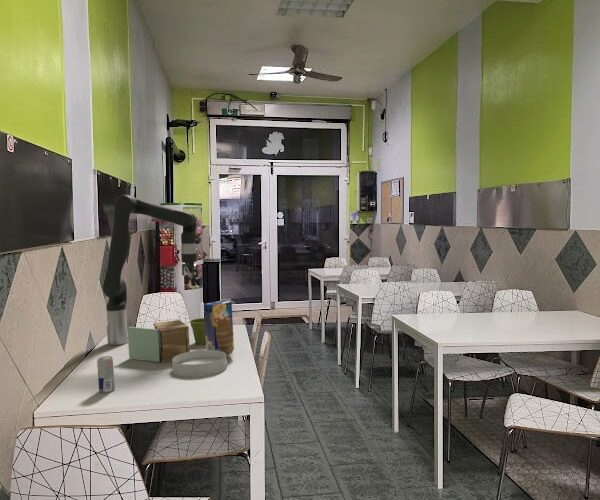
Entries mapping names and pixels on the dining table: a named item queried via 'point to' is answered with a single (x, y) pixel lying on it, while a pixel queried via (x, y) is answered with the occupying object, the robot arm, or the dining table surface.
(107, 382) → the energy drink
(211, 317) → the beverage box
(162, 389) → the dining table surface
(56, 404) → the dining table surface
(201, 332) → the plant pot
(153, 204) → the robot arm
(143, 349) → the box flap
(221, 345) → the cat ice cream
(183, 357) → the dish
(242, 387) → the dining table surface
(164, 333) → the oak storage box
